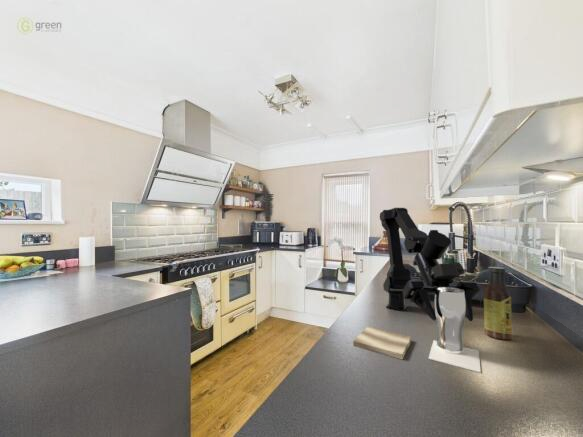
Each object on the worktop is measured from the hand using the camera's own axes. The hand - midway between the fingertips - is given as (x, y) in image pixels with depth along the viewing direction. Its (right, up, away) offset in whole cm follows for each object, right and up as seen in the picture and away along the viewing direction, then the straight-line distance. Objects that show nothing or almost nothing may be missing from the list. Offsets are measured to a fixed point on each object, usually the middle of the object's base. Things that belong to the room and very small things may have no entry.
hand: (453, 320), depth 65 cm
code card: (-1, -8, -2) cm, 8 cm away
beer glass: (0, -8, +1) cm, 8 cm away
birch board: (-16, -8, +4) cm, 19 cm away
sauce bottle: (+19, -9, +10) cm, 23 cm away
